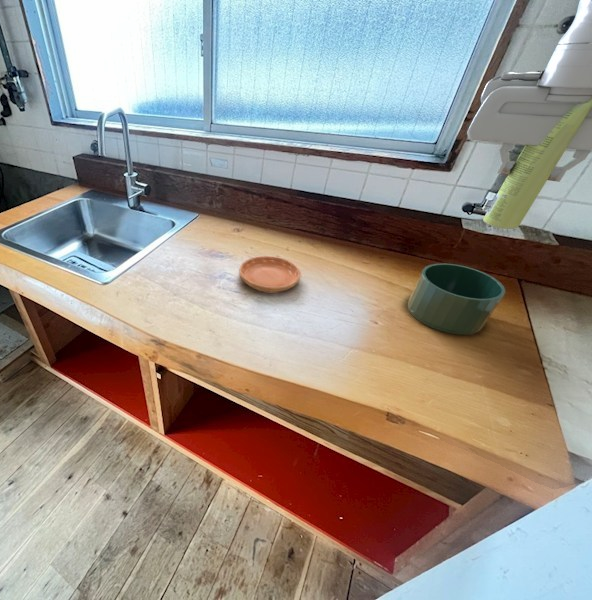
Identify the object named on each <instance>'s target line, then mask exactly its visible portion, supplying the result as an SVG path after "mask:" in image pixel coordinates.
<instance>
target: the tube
mask: <svg viewBox="0 0 592 600" xmlns="http://www.w3.org/2000/svg"><path fill="white" fill-rule="evenodd" d="M591 107H592V99H591V100H590V101H588V102H581V103H580V104H577V105H576V106H574V107H573V108H572V109H571V110H570V111H568V112H567V113H566V114H565V115H564V116H563V118H562V119H561V120H560V121H559V122H558V123H557V125H556V126H555V127H554V128H553V129H552V131H551V132H550V133H549V134H548V136H547V137H546V138H545V139H544V141H543V142H542V143H541V144H540V145H538V146H533V145H524V147H523V148H522V150H521V152H520V154H519V156H518V157H517V159H516V161H515V164H514V166H513V167H512V170H511V171H510V173H509V175H507V176H506V178H505V179H504V182H503V183H502V185H501V187H500V188H499V190H498V192H497V194H496V195H495V197H494V199H493V201H492V202H491V204H490V206H489V208H488V209H487V211H486V212H485V215H484V216H483V217H482V218H483V219H482V220H483V222H484V223H485V224H487V225H488V226H491V227H494V228H498V229H504V230H514V229H517V228H519V227H520V226H521V224H522V222H523V220H524V218H525V217H526V215H527V214H528V212H529V211H530V209H531V207H532V206H533V204H534V202H535V200H536V199H537V198H538V196H539V194H540V193H541V192H542V190H543V188H544V186H545V185H546V184H547V181H548V180H547V179H548V178H549V176H550V175H551V173H552V171H553V170H554V168H555V166H557V165H558V163H559V162H560V160H561V159H562V156H563V155H564V154H565V152H566V150H567V149H566V148H567V146H568V144H569V142H570V141H571V139H572V138H573V136H574V135H575V133H576V132H577V130H578V128H579V127H580V125H581V123H582V122H583V120H584V119H585V117H586V115H587V114H588V112H589V110H590V109H591Z"/></svg>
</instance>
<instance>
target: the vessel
mask: <svg viewBox="0 0 592 600" xmlns="http://www.w3.org/2000/svg"><path fill="white" fill-rule="evenodd" d="M505 294H506V289H505V286H504V285H503V283H502V282H500V281H499V280H498V279H496V278H495V277H494V276H492V275H489V274H488V273H486V272H484V271H481V270H479V269H476V268H473V267H469V266H465V265H460V264H456V263H455V264H454V263H445V262H443V263H433V264H429V265H426V266H425V267H424V268H423V269H422V270H421V272H420V274H419V277H418V279H417V281H416V283H415V285H414V288H413V290H412V292H411V294H410V297H409V299H408V301H407V309H408V311H409V312H410V314H411V315H412V316H413V318H415V319H416V320H417V321H419V322H420V323H422V324H423V325H425V326H427V327H429V328H432V329H434V330H437V331H440V332H442V333H447V334H452V335H459V336H467V335H468V336H470V335H474V334H477V333H478V332H480V331H481V330H482V329H483V328H484V327H485V325H486V323H487V322H488V321H489V319H490V317H491V316H492V314H493V313H494V311H495V310H496V308H497V307H498V305H500V303H501V301H502V299H503V298H504V297H505Z"/></svg>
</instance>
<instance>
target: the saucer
mask: <svg viewBox="0 0 592 600" xmlns="http://www.w3.org/2000/svg"><path fill="white" fill-rule="evenodd" d="M238 273H239V276H240V278H241V280H242V281H243V282H244V283H245V284H247V285H248V286H249V287H251V288H252V289H254V290H257V291H259V292H264V293H271V294H272V293H273V294H274V293H280V292H285V291H287V290H290V289H291V288H293V287H295V286H296V285H297V284H298V283H299V282H300V280H301V277H302V272H301V270H300V268H299V267H298V266H297V265H296V264H295V263H293V262H292V261H289V260H287V259H285V258H282V257H277V256H270V255H259V256H254V257H250V258H248V259H246V260H244V261H243V262H242V263H241V264H240V266H239V269H238Z"/></svg>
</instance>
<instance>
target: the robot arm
mask: <svg viewBox="0 0 592 600" xmlns="http://www.w3.org/2000/svg"><path fill="white" fill-rule="evenodd" d="M498 79H500V80H498ZM591 99H592V0H579V2H578V6H577V10H576V14H575V17H574V19H573V21H572V23H571V25H570V26H569V27H568V29H567V31H566V32H565V33H564V34H563V35H562V37H561V38H560V39H559V41H558V42H557V45H556V47H555V49H554V51H553V53H552V55H551V57H550V59H549V61H548V62H547V65H546V66H545V69H544V70H527V71H515V70H511V71H504V72H503V73H502V74H499V75H496V76H495V77H493V78H491V79H490V80H489V81H488V82H487V83H486V85H485V86H484V89H483V91H482V93H481V96H480V104H481V106H480V107H479V109H478V111H477V112H476V114H475V116H474V117H473V119H472V121H471V123H470V125H469V127H468V129H467V131H466V134H467V138H468V139H469V140H470V141H479V142H491V143H502V145H501V147H500V149H499V154H500V160H501V165H500V167H499V169H498V170H497V174H500V175H507V176H508V175H509V173H510V171H511V170H512V167H513V166H514V164H515V162H516V161H514V160H511V159H510V152H511V151H512V150H513V149H514V148H515V147H516V145H521V146H522V145H523V146H525V145H533V146H538V145H540V144H541V143H542V142H543V141H544V139H545V138H546V137H547V136H548V134H549V133H550V132H551V131H552V129H553V128H554V127H555V126H556V125H557V123H558V122H559V121H560V120H561V119H562V118H563V116H564V115H565V114H566V113H567V112H568V111H570V110H571V109H572V108H573V107H574V106H576V105H577V104H580V103H581V102H588V101H590V100H591ZM566 150H575V152H574V153H573V155H572V158H573V159H571V160H569V161H568V162H567V163H566V164H564V165H562V166H559V165H558V166H557V165H556V166H555V168H554V170H553V171H552V173H551V175H550V176H549V178H548V179H547V181H551V182H561V180H562V179H563V177H564V176H565V174H566V173H567V171H569V170H571V169H573V168H574V167H576V166H577V165H579V164H580V163H582V162H584V161H585V160H586V159H587V158H588V156H589V154H591V152H592V107H591V109H590V110H589V112H588V114H587V115H586V117H585V119H584V120H583V122H582V123H581V125H580V127H579V128H578V130H577V132H576V133H575V135H574V136H573V138H572V139H571V141H570V142H569V144H568V146H567V148H566Z"/></svg>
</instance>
